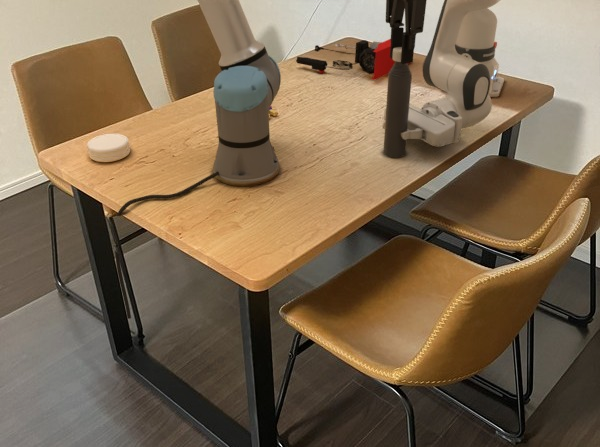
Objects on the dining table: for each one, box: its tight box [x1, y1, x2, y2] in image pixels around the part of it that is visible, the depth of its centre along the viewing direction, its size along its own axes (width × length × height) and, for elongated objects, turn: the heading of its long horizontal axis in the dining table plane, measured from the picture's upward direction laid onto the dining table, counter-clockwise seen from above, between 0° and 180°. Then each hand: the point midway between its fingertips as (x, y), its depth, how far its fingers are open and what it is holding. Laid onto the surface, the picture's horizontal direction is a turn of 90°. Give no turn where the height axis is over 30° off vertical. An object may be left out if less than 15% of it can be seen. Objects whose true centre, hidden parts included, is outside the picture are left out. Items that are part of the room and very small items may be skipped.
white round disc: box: [86, 133, 131, 163], centre depth 153 cm, size 10×10×4 cm
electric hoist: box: [295, 38, 410, 81], centre depth 208 cm, size 10×27×30 cm
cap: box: [392, 47, 402, 62], centre depth 140 cm, size 4×4×2 cm
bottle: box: [382, 61, 413, 159], centre depth 146 cm, size 5×5×25 cm
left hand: (401, 59), depth 140 cm, fingers closed on cap, 4 cm apart
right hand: (393, 130), depth 149 cm, fingers closed on bottle, 5 cm apart
